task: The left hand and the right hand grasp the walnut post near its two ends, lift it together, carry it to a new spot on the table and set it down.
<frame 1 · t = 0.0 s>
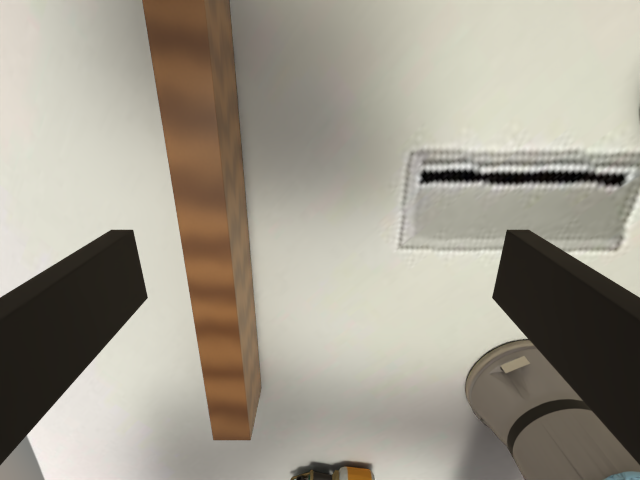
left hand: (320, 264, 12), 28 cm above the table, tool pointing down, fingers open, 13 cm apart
post: (227, 211, 41), on the table
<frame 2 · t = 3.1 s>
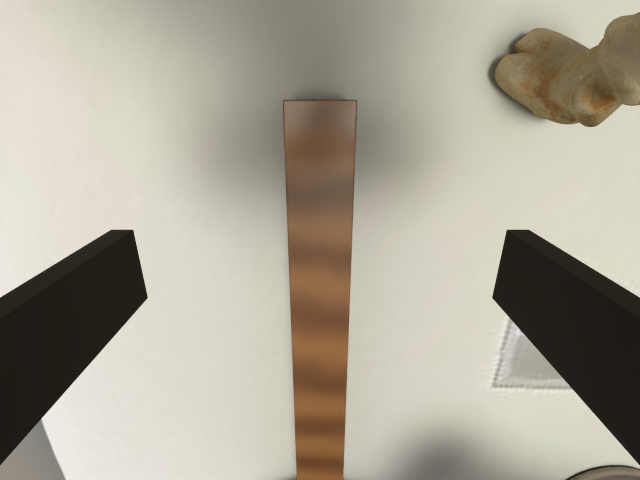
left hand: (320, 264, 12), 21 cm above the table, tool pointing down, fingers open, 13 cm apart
sculpture: (530, 80, 29), on the table
post: (319, 355, 40), on the table, touching right hand
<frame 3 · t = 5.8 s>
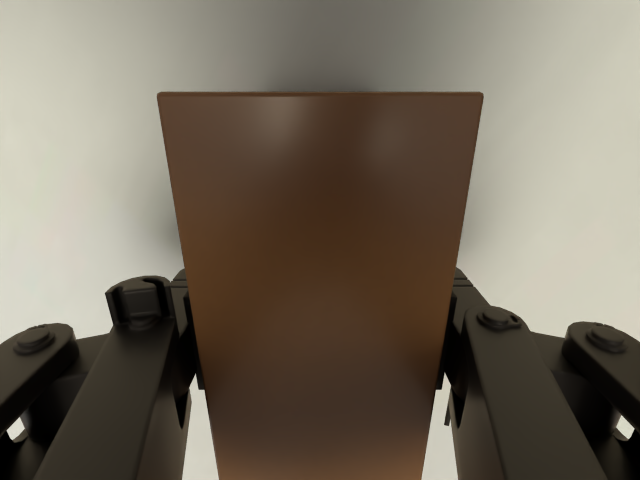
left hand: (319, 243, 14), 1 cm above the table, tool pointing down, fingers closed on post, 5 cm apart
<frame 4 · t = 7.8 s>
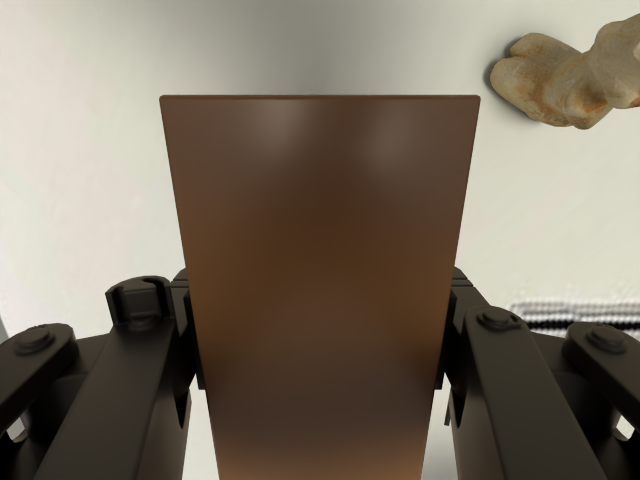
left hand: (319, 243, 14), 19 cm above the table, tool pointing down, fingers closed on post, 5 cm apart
sculpture: (524, 84, 29), on the table
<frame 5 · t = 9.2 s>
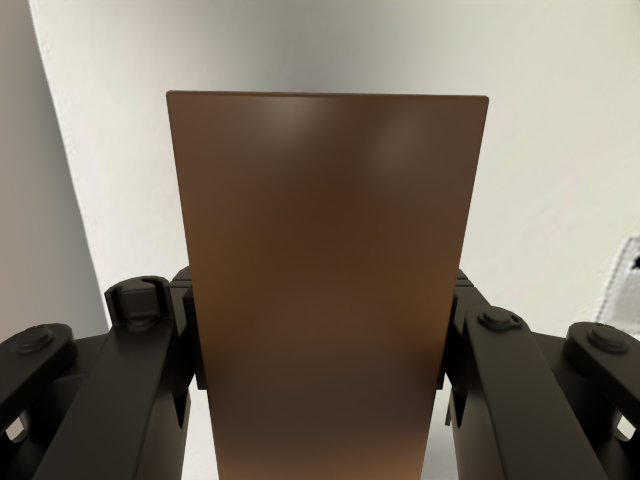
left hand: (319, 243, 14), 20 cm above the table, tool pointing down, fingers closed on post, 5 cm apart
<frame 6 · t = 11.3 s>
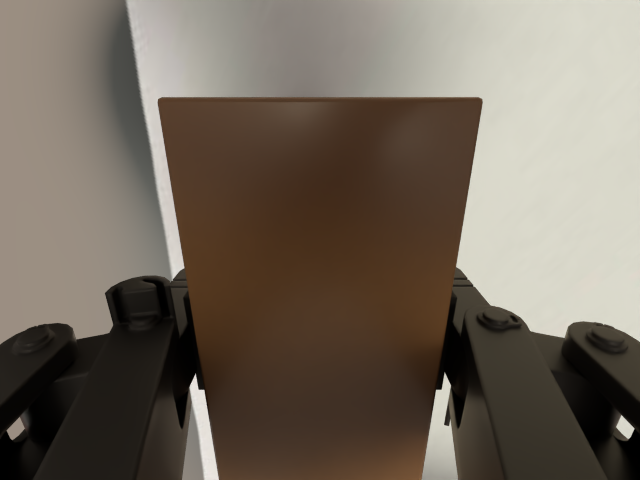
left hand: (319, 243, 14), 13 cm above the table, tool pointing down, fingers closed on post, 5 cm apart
when the left hand's fingers open (2 cm above the table, at t = 12.7 s): post drops 1 cm, on the table.
when the right hand's fingers open (2 cm above the table, at t = 12.7 s): post drops 1 cm, on the table.
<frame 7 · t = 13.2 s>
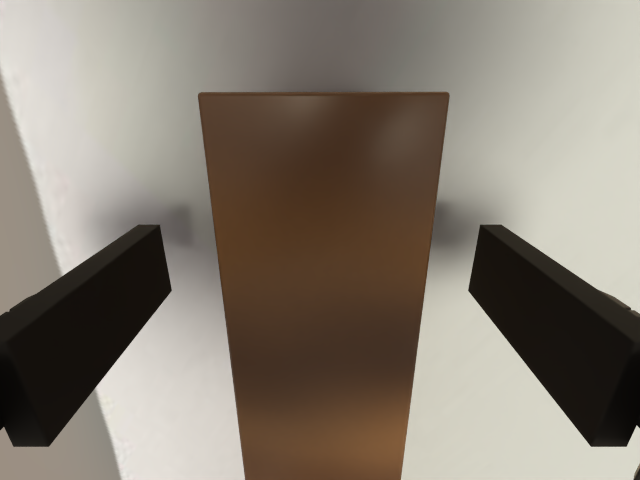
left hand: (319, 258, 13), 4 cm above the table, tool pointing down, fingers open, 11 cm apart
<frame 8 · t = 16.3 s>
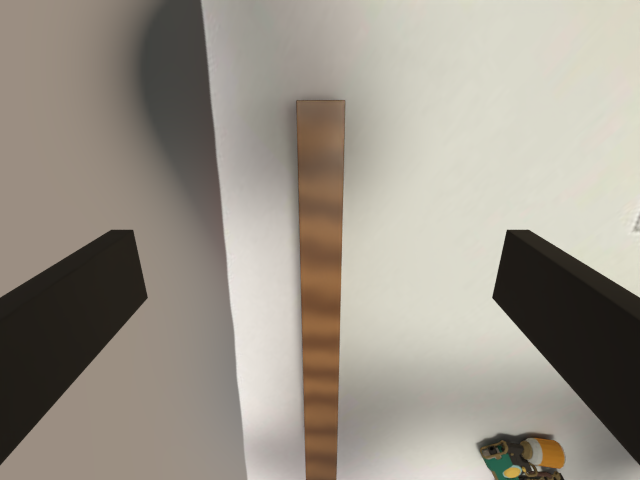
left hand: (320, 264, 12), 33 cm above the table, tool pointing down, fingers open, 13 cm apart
post: (320, 299, 51), on the table
spray gun: (517, 460, 64), on the table
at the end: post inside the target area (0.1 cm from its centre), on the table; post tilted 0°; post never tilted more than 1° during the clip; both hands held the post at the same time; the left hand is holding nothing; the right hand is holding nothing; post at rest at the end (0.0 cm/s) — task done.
